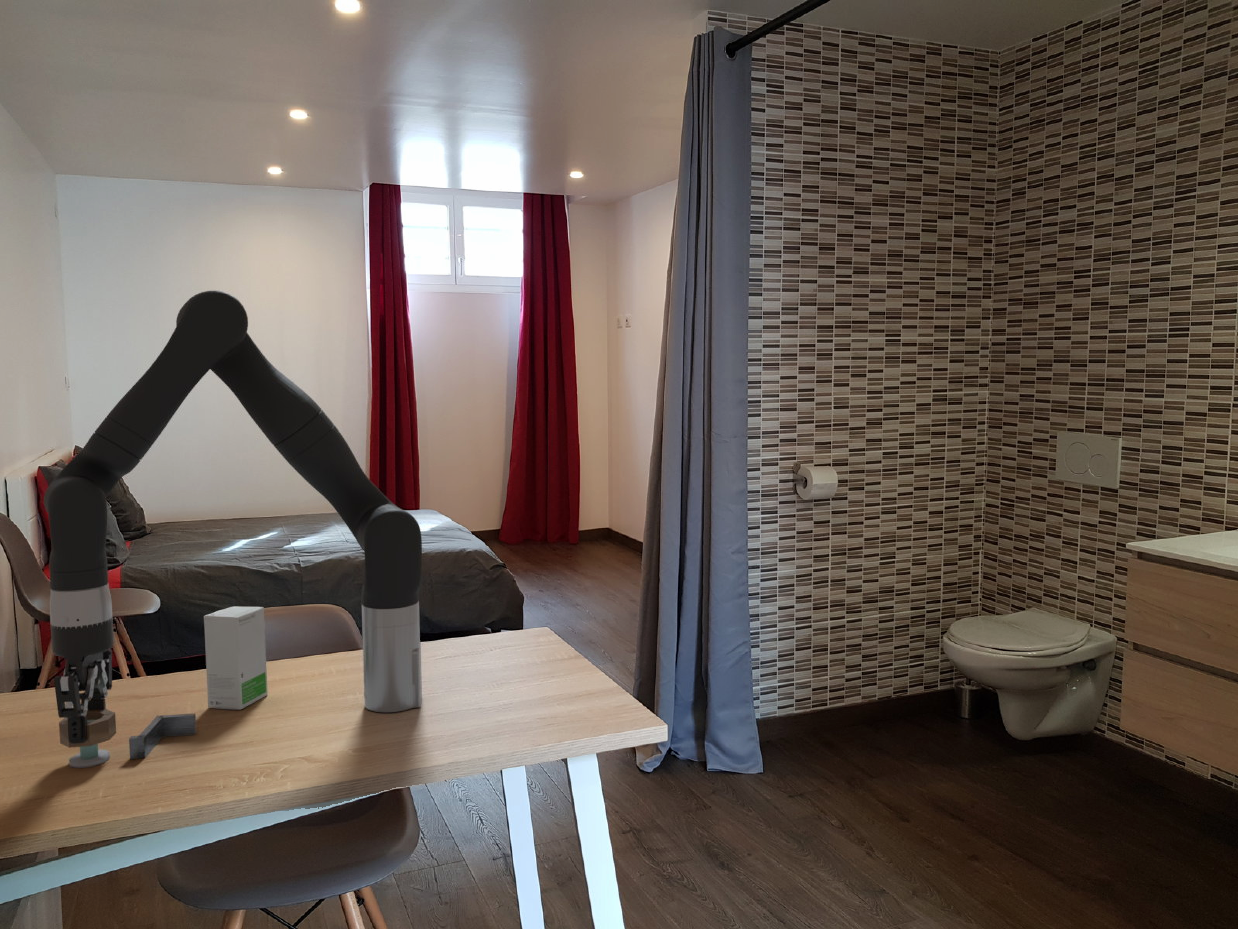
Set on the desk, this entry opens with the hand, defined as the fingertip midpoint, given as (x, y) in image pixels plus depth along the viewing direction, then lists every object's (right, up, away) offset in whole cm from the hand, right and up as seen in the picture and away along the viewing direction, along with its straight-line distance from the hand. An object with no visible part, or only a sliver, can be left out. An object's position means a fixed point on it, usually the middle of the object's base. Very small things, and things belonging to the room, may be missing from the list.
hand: (88, 733), depth 130 cm
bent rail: (+8, -4, +6) cm, 10 cm away
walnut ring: (0, -1, 0) cm, 1 cm away
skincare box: (+11, -2, +24) cm, 27 cm away
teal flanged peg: (0, -4, 0) cm, 4 cm away
